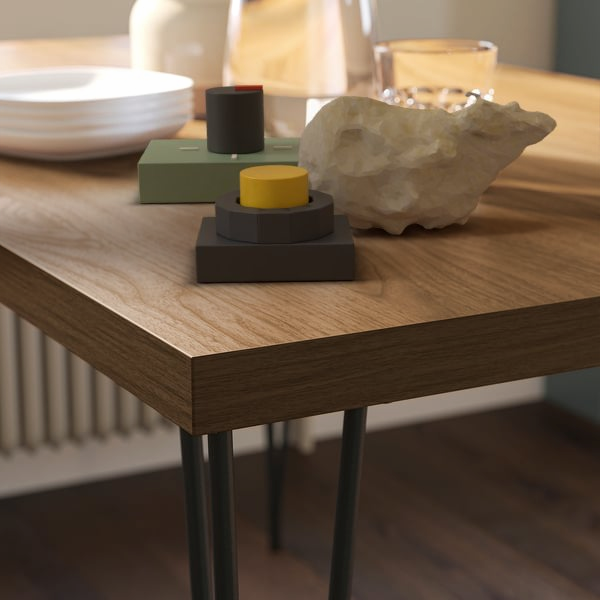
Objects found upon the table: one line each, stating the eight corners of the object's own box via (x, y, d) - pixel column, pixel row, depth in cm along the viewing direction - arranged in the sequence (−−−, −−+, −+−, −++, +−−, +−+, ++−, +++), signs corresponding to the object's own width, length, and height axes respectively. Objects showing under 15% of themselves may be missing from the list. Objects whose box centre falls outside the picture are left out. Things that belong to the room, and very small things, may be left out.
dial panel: (139, 203, 86) (137, 160, 85) (153, 176, 96) (151, 137, 95) (330, 200, 87) (329, 158, 86) (324, 173, 96) (324, 135, 95)
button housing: (196, 282, 67) (193, 214, 66) (203, 250, 74) (201, 187, 72) (354, 280, 67) (354, 212, 66) (347, 248, 74) (347, 185, 73)
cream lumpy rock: (253, 258, 79) (362, 142, 67) (253, 166, 82) (356, 40, 70) (446, 300, 85) (576, 200, 73) (438, 213, 89) (562, 104, 77)
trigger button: (239, 214, 67) (238, 179, 67) (241, 198, 71) (240, 165, 70) (309, 213, 67) (309, 177, 67) (307, 197, 71) (307, 164, 71)
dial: (205, 154, 88) (203, 90, 87) (208, 144, 92) (206, 82, 91) (264, 153, 88) (262, 89, 87) (264, 143, 92) (263, 81, 91)
